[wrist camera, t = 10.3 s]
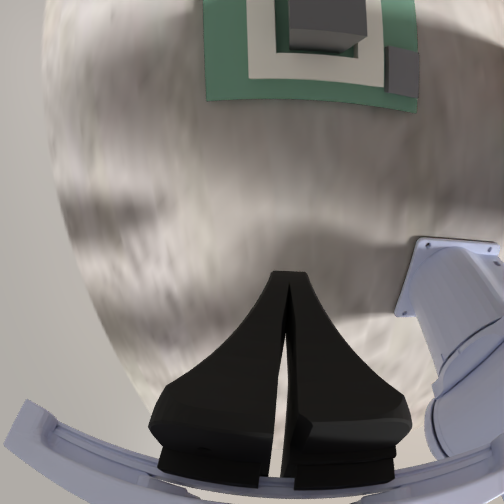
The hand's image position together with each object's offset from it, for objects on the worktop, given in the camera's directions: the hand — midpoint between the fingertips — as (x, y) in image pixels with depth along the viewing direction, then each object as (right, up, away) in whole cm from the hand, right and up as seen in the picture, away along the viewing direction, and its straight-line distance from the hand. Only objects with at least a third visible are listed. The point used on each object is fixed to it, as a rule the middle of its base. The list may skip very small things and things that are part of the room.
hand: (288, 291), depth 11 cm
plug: (+2, +15, +1) cm, 15 cm away
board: (+2, +15, +1) cm, 16 cm away
